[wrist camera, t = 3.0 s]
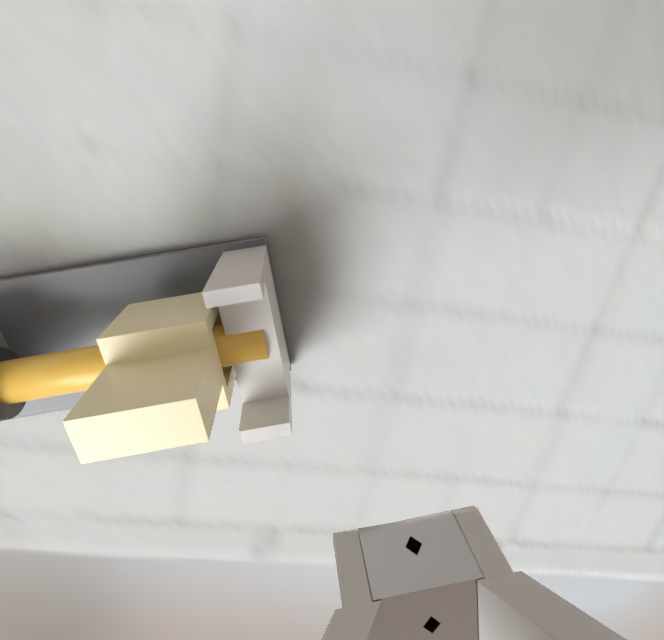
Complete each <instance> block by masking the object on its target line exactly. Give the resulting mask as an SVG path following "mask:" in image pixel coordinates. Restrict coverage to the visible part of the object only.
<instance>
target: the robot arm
mask: <svg viewBox="0 0 664 640" xmlns="http://www.w3.org/2000/svg"><path fill="white" fill-rule="evenodd" d="M333 543H334V550H335V557H336V565H337V572H338V579H339V586H340V593H341V600H342V607H343V608H341V609H337V610H335V611H334V613H333V615H332V618H331V620H330V622H329V624H328V626H327V628H326V631H325V633H324V635H323V637H322V639H321V640H626V639H625V638H623V637H622V636H620V635H618V634H617V633H615V632H614V631H612V630H610V629H609V628H608V627H606V626H604V625H603V624H602V623H600V622H599V621H597V620H595V619H594V618H592V617H591V616H589V615H588V614H586V613H585V612H583V611H581V610H580V609H579V608H577V607H576V606H574V605H572V604H571V603H569V602H568V601H566V600H565V599H563V598H562V597H560V596H559V595H557V594H556V593H554V592H552V591H551V590H549V589H548V588H546V587H545V586H543V585H542V584H540V583H539V582H537V581H536V580H534V579H532V578H531V577H529V576H528V575H526V574H525V573H523V572H522V571H519V572H513V570H512V569H511V567H510V565H509V563H508V561H507V560H506V558H505V556H504V554H503V553H502V551H501V549H500V547H499V546H498V544H497V542H496V540H495V538H494V537H493V535H492V533H491V531H490V530H489V528H488V526H487V524H486V522H485V521H484V519H483V517H482V515H481V514H480V512H479V510H478V509H477V508H476V507H475V506H469V507H464V508H460V509H455V510H451V511H445V512H440V513H435V514H431V515H426V516H421V517H416V518H412V519H407V520H403V521H399V522H393V523H388V524H382V525H376V526H370V527H364V528H359V529H358V531H357V529H356V530H350V531H344V532H338V533H333Z"/></svg>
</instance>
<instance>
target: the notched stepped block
mask: <svg viewBox="0 0 664 640" xmlns="http://www.w3.org/2000/svg"><path fill="white" fill-rule="evenodd" d="M220 324H222V320H221V316H220V312H219V308H218V307H213V308H207V309H206V307H205V303H204V299H203V295H202V292H199V293H193V294H187V295H181V296H175V297H169V298H163V299H157V300H151V301H145V302H139V303H133V304H129V305H128V306H127V307H126V308H125V309H124V310H123V311H122V312H121V313H120V314H119V315H118V316H117V317H116V318H115V320H114V321H113V322H112V323H111V324H110V325H109V326H108V327H107V328H106V329H105V330H104V331H103V332H102V333H101V335H100V336H99V337H98V338H97V339H96V341H97V344H98V346H99V349H100V352H101V354H102V357H103V360H104V362H105V365H106V366H105V368H104V369H103V370H102V372H101V373H100V374H99V375H98V377H97V378H96V379H95V381H94V382H93V383H92V384H91V386H90V387H89V388H88V390H87V391H86V392H85V393H84V395H83V396H82V397H81V399H80V400H79V401H78V402H77V404H76V405H75V406H74V408H73V409H72V410H71V411H70V413H69V414H68V415H67V416H66V418H65V419H64V420H63V424H64V426H65V429H66V431H67V433H68V435H69V438H70V440H71V442H72V444H73V447H74V449H75V451H76V453H77V456H78V458H79V460H80V463H81V464H85V463H90V462H96V461H101V460H107V459H113V458H118V457H124V456H129V455H135V454H141V453H146V452H152V451H157V450H163V449H169V448H174V447H180V446H185V445H191V444H197V443H202V442H208V441H209V438H210V434H211V430H212V426H213V422H214V418H215V413H216V410H221V409H227V408H229V406H230V401H231V396H232V391H233V386H234V381H235V376H236V375H235V371H234V367H233V366H228V367H222V366H221V362H220V358H219V354H218V350H217V347H216V343H215V339H214V335H213V332H212V328H213V326H214V325H220Z"/></svg>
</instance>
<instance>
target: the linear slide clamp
mask: <svg viewBox="0 0 664 640" xmlns="http://www.w3.org/2000/svg"><path fill="white" fill-rule="evenodd" d="M199 292H202V295H203V299H204V303H205V307H206V309H207V308H213V307H218V308H219V312H220V316H221V320H222V324H220V325H214V326H213V328H212V332H213V335H214V339H215V343H216V347H217V350H218V354H219V358H220V362H221V366H222V367H228V366H233V367H234V371H235V375H236V376H235V380H237V382H238V386H239V390H240V394H241V398H242V402H243V407H242V414H241V421H240V427H239V434H240V438H241V442H242V444H246V443H251V442H257V441H262V440H268V439H273V438H279V437H285V436H290V435H292V414H291V380H290V371H291V363H290V358H289V353H288V348H287V343H286V338H285V333H284V328H283V323H282V318H281V313H280V308H279V303H278V298H277V293H276V288H275V283H274V278H273V273H272V268H271V263H270V258H269V253H268V248H267V243H266V238H265V236H262V237H256V238H250V239H244V240H238V241H231V242H225V243H219V244H213V245H207V246H201V247H194V248H188V249H182V250H176V251H170V252H164V253H157V254H151V255H145V256H139V257H133V258H126V259H120V260H114V261H108V262H102V263H96V264H89V265H83V266H77V267H71V268H65V269H59V270H52V271H46V272H40V273H34V274H28V275H21V276H15V277H9V278H3V279H0V421H3V420H9V419H15V418H20V417H26V416H32V415H38V414H43V413H49V412H55V411H61V410H66V409H72V408H74V406H75V405H76V404H77V402H78V401H79V400H80V399H81V397H82V396H83V395H84V393H85V392H86V391H87V390H88V388H89V387H90V386H91V384H92V383H93V382H94V381H95V379H96V378H97V377H98V375H99V374H100V373H101V372H102V370H103V369H104V368H105V366H106V365H105V362H104V360H103V357H102V354H101V352H100V349H99V346H98V344H97V341H96V339H97V338H98V337H99V336H100V335H101V333H102V332H103V331H104V330H105V329H106V328H107V327H108V326H109V325H110V324H111V323H112V322H113V321H114V320H115V318H116V317H117V316H118V315H119V314H120V313H121V312H122V311H123V310H124V309H125V308H126V307H127V306H128V305H129V304H133V303H139V302H145V301H151V300H157V299H163V298H169V297H175V296H181V295H187V294H193V293H199Z"/></svg>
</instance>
